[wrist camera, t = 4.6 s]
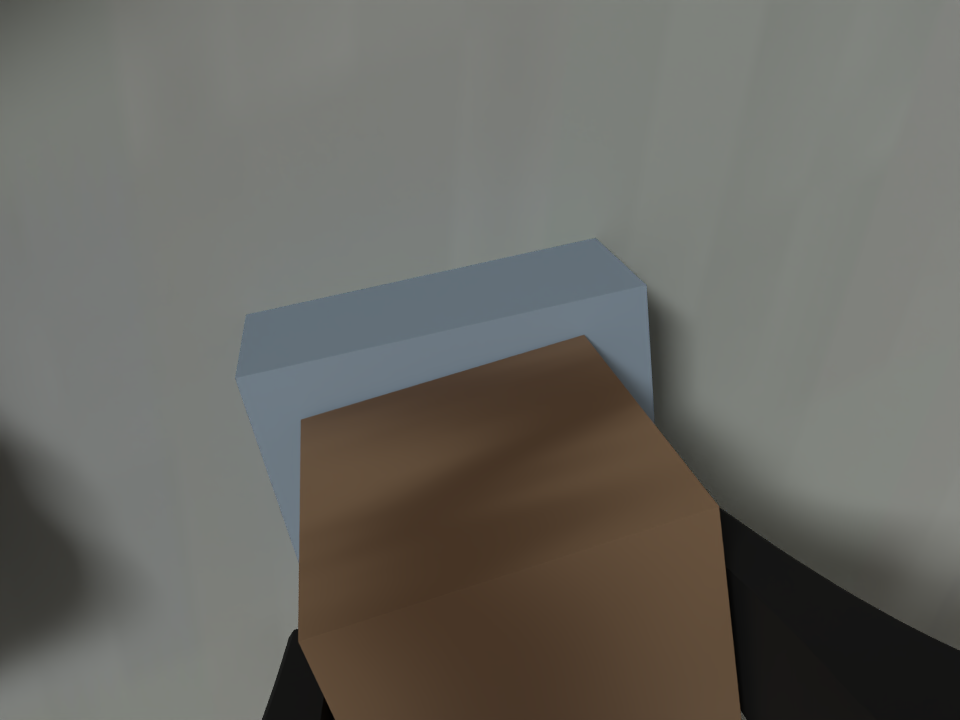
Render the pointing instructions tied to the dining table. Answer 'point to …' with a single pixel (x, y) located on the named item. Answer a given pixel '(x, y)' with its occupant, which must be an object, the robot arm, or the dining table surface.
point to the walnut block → (511, 553)
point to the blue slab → (432, 341)
